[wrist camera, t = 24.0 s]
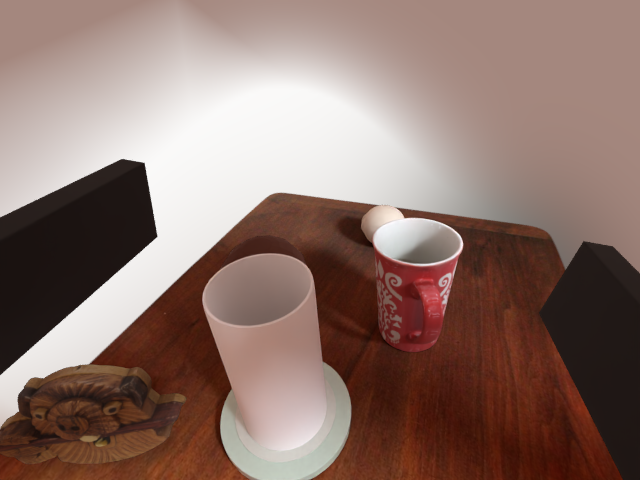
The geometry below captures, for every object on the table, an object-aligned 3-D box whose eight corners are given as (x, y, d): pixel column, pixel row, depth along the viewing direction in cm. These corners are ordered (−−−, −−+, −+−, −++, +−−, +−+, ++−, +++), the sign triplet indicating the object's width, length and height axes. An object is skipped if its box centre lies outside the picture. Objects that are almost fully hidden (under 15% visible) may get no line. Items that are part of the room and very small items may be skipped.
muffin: (296, 344, 42) (285, 281, 37) (214, 332, 45) (193, 272, 39) (318, 281, 52) (312, 224, 46) (249, 274, 54) (236, 219, 49)
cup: (256, 369, 38) (223, 252, 29) (330, 373, 37) (319, 253, 28) (233, 447, 31) (182, 326, 23) (322, 454, 30) (305, 330, 22)
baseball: (371, 227, 63) (372, 194, 59) (409, 238, 59) (412, 203, 56) (353, 246, 59) (352, 211, 55) (393, 258, 55) (395, 222, 51)
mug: (368, 303, 47) (369, 218, 40) (436, 302, 46) (450, 215, 39) (376, 387, 37) (379, 293, 29) (464, 388, 36) (490, 291, 28)
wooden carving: (6, 495, 30) (-73, 437, 25) (33, 442, 34) (-31, 382, 29) (196, 453, 32) (161, 391, 27) (201, 408, 36) (172, 345, 31)
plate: (340, 352, 41) (340, 346, 40) (363, 475, 30) (363, 469, 29) (230, 367, 40) (227, 361, 39) (212, 498, 29) (209, 492, 29)
